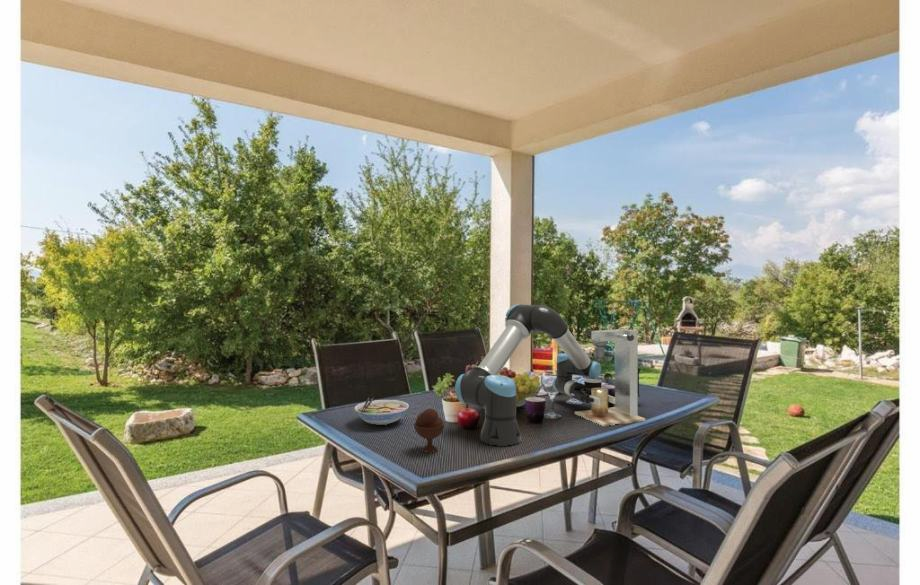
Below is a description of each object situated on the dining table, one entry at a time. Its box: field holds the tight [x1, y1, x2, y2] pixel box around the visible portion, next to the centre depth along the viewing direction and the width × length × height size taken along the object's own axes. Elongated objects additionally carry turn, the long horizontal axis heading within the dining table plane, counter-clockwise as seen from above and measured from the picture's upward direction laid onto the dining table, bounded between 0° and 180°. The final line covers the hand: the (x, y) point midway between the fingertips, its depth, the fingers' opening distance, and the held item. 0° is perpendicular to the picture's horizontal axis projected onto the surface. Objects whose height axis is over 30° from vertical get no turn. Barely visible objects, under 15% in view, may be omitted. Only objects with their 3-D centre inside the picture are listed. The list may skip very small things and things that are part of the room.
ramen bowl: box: [354, 396, 410, 426], centre depth 197 cm, size 25×23×8 cm
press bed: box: [574, 406, 647, 427], centre depth 204 cm, size 22×20×1 cm
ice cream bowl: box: [413, 408, 446, 453], centre depth 164 cm, size 11×11×15 cm
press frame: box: [590, 328, 639, 416], centre depth 201 cm, size 19×16×37 cm
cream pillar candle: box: [590, 387, 609, 415], centre depth 202 cm, size 7×7×10 cm
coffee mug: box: [583, 378, 603, 390], centre depth 233 cm, size 12×9×10 cm
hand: (606, 401), depth 197 cm, fingers closed on cream pillar candle, 7 cm apart
